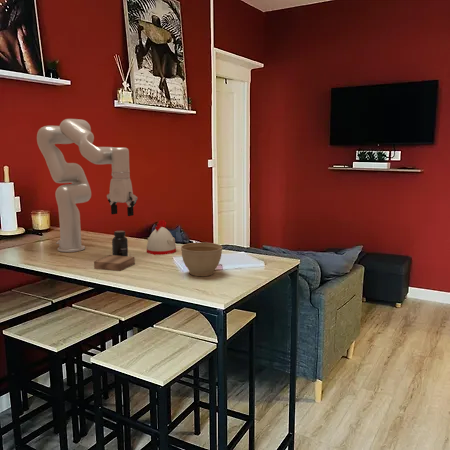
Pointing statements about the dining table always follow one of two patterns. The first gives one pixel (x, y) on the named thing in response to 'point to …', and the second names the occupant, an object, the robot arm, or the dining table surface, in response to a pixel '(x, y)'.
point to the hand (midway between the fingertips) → (122, 214)
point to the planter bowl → (201, 258)
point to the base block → (114, 262)
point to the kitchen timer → (161, 241)
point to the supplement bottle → (120, 244)
